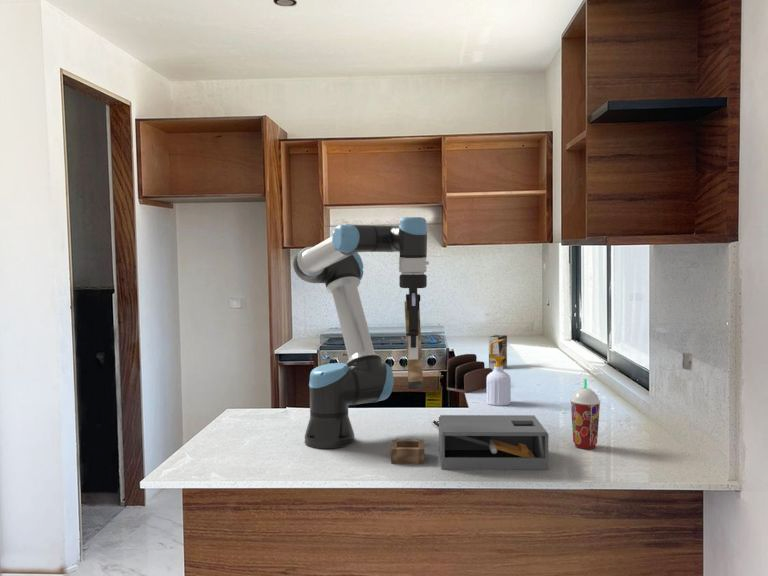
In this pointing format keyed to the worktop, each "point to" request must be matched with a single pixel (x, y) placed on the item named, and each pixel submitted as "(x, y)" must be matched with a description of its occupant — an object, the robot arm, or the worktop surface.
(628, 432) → the worktop surface
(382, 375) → the robot arm
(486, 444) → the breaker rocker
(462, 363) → the letter holder
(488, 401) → the soap bottle
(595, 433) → the smoothie
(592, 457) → the worktop surface
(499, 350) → the coffee box
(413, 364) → the light wood square bar
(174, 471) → the worktop surface
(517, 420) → the box
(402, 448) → the square wooden socket
